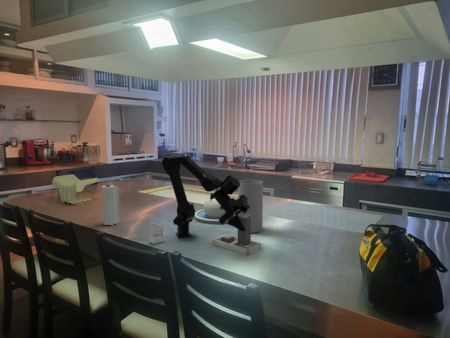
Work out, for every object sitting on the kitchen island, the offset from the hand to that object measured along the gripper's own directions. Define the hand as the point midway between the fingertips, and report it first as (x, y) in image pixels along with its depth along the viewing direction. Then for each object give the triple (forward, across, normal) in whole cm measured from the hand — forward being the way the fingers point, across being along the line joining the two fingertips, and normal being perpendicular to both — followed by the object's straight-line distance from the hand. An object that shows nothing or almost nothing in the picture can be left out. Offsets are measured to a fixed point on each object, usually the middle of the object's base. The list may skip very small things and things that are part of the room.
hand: (247, 229), depth 134 cm
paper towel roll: (-50, -7, +63) cm, 80 cm away
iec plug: (+4, 0, +6) cm, 7 cm away
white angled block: (-22, -13, +34) cm, 43 cm away
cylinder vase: (-1, +24, +14) cm, 28 cm away
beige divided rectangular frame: (+2, +1, +10) cm, 11 cm away
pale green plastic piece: (-95, +15, +108) cm, 144 cm away
